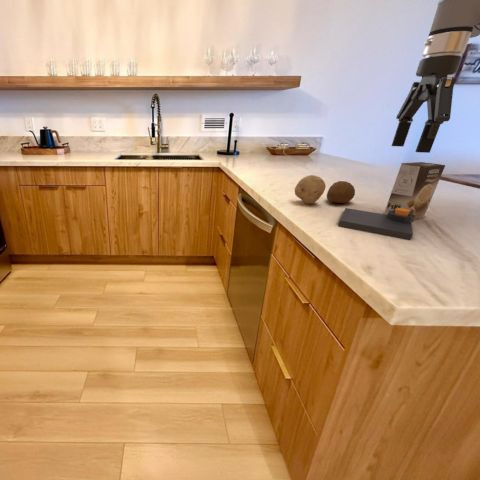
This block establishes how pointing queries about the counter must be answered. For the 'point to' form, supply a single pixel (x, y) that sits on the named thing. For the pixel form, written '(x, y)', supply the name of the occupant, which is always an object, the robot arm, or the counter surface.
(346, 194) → the potato
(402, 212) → the tare button
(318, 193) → the light tan potato
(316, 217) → the counter surface
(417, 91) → the robot arm
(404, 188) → the coffee box
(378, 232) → the scale
